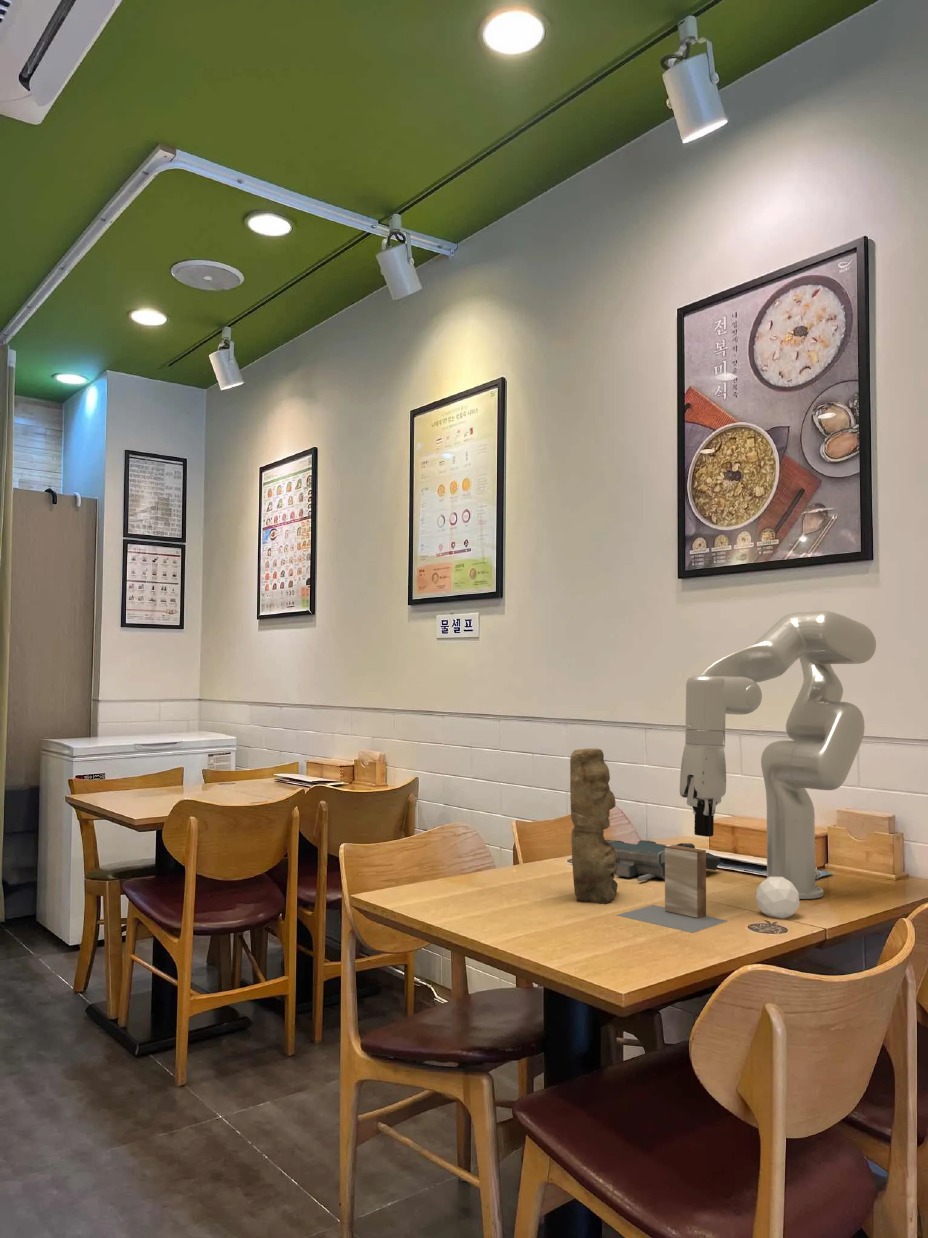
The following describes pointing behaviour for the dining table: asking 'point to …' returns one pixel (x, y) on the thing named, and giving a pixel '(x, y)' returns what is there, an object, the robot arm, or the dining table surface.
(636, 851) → the toy
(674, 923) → the mat
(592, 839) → the sculpture
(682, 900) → the wooden block
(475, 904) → the dining table surface
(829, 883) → the dining table surface
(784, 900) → the geometric ball
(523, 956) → the dining table surface
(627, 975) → the dining table surface
